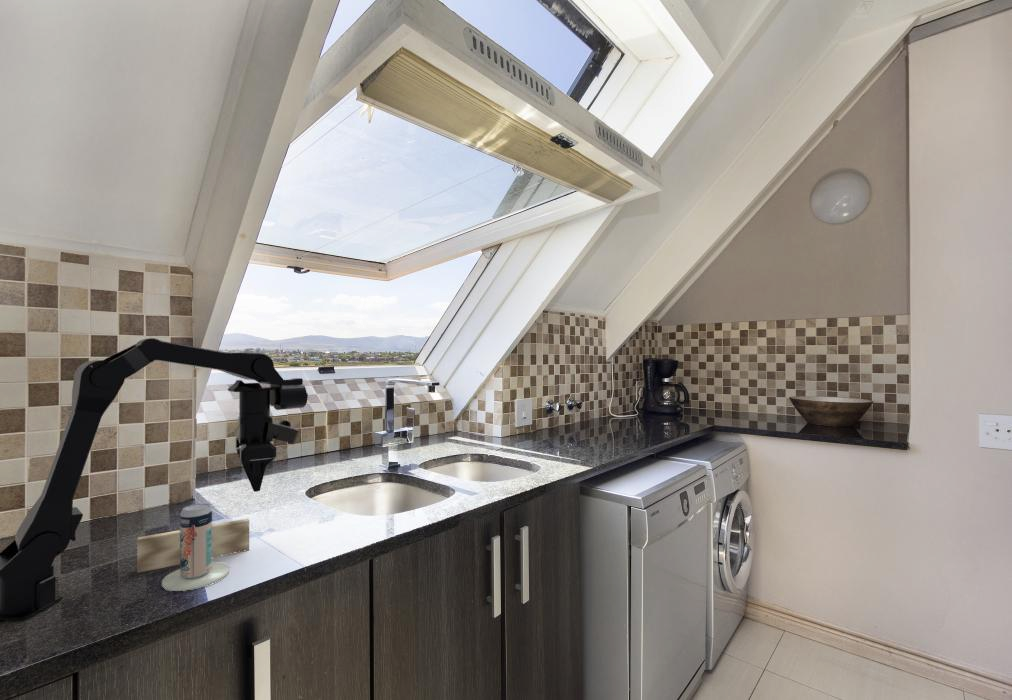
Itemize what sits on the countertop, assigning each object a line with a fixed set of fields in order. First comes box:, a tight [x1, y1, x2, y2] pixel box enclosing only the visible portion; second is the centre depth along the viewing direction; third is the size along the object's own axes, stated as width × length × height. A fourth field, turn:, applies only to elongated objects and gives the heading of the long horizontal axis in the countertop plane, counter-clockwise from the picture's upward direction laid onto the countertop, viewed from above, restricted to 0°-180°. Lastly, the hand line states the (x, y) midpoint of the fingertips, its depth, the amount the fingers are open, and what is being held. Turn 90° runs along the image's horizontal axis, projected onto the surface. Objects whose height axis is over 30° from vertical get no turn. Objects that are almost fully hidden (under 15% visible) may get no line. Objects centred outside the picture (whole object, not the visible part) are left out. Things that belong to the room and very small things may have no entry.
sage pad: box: [161, 561, 230, 592], centre depth 84 cm, size 10×10×1 cm
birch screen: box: [136, 518, 250, 574], centre depth 91 cm, size 18×2×6 cm, turn 123°
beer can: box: [179, 502, 213, 579], centre depth 84 cm, size 5×5×12 cm
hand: (254, 485), depth 99 cm, fingers open, 9 cm apart
